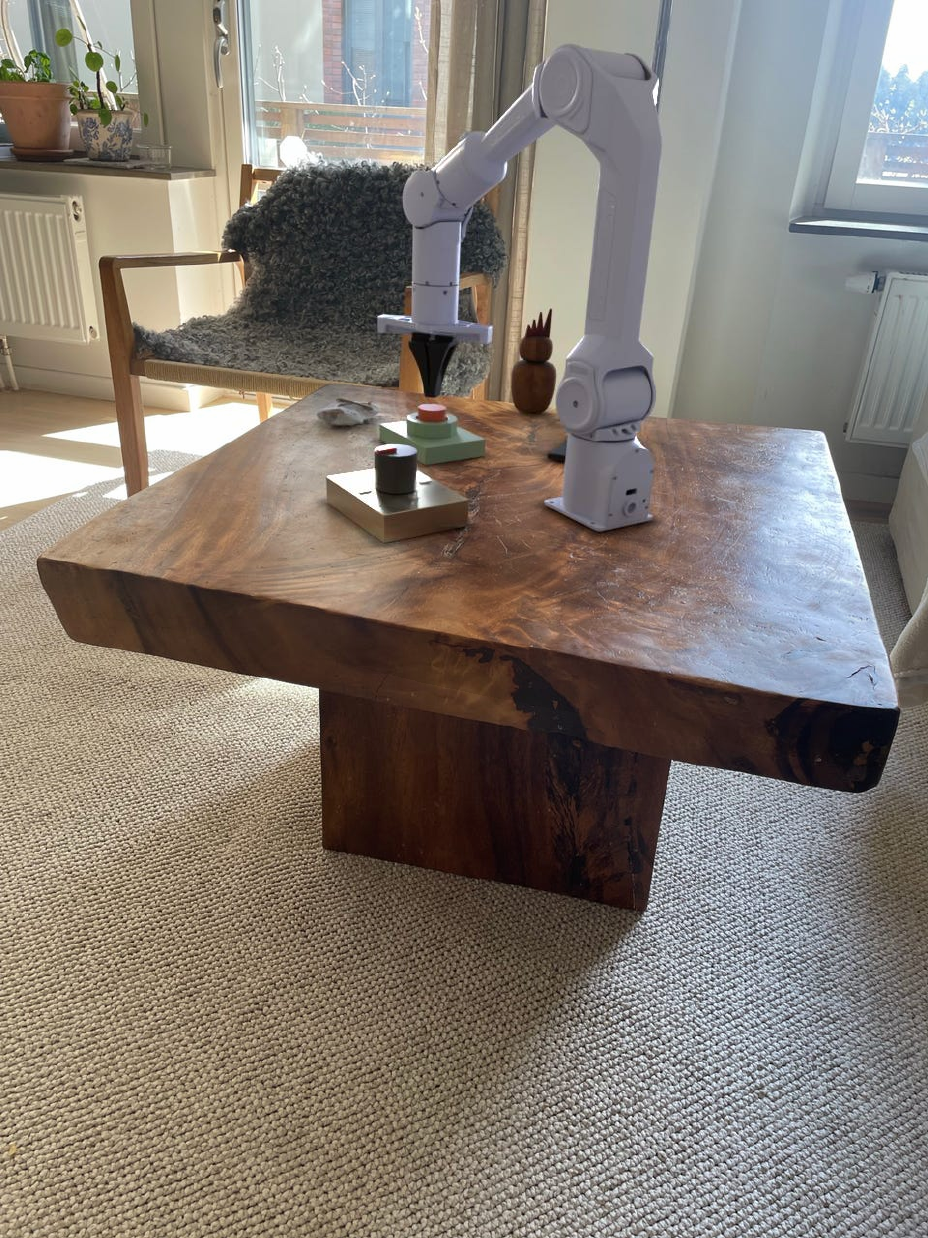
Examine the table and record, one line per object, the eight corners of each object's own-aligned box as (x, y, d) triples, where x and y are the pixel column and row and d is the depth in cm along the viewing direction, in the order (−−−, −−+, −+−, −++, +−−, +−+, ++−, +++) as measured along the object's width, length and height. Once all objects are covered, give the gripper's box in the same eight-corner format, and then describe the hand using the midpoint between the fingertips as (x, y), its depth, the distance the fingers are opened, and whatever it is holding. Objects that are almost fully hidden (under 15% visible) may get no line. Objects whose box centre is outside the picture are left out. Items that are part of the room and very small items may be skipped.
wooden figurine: (553, 407, 138) (562, 307, 132) (552, 417, 133) (562, 312, 126) (510, 404, 139) (516, 304, 132) (507, 414, 134) (515, 309, 127)
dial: (403, 477, 96) (404, 439, 94) (424, 490, 93) (425, 450, 91) (367, 483, 94) (367, 444, 92) (387, 496, 91) (387, 455, 89)
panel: (467, 526, 93) (469, 497, 91) (383, 543, 88) (383, 513, 86) (405, 488, 102) (406, 462, 101) (326, 502, 97) (325, 474, 96)
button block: (484, 455, 115) (486, 425, 113) (425, 465, 110) (426, 433, 108) (436, 432, 123) (437, 403, 122) (379, 439, 119) (379, 410, 117)
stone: (341, 410, 132) (340, 392, 130) (386, 416, 129) (386, 398, 128) (310, 426, 123) (309, 407, 122) (358, 432, 121) (357, 413, 120)
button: (451, 422, 115) (451, 409, 114) (427, 425, 113) (427, 411, 112) (436, 415, 117) (436, 402, 117) (412, 418, 116) (413, 405, 115)
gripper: (367, 281, 106) (367, 395, 112) (482, 292, 102) (476, 409, 108) (390, 275, 112) (389, 384, 118) (500, 285, 108) (493, 397, 114)
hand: (432, 395), depth 114 cm, fingers closed
